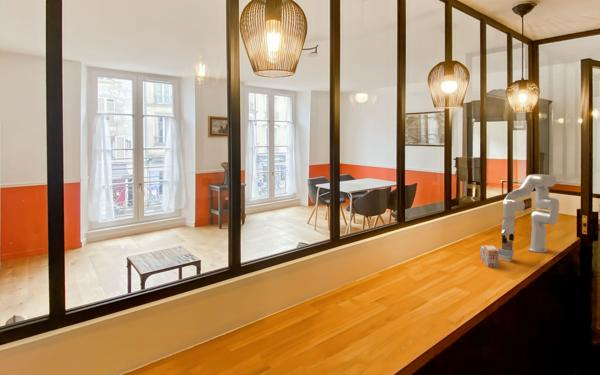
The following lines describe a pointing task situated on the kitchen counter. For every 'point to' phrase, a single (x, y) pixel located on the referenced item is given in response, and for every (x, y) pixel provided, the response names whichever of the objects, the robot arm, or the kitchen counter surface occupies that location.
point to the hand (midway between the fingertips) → (507, 241)
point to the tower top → (506, 252)
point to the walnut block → (507, 245)
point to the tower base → (506, 258)
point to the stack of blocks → (489, 256)
